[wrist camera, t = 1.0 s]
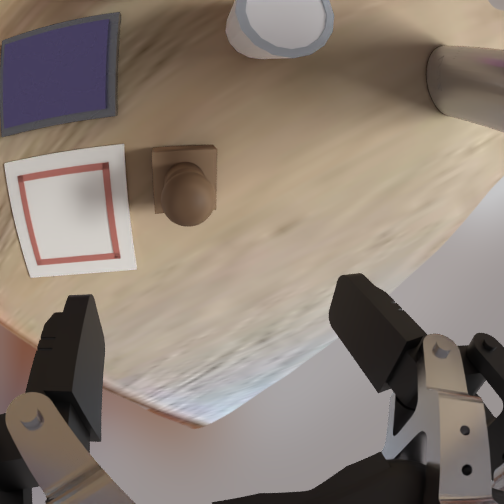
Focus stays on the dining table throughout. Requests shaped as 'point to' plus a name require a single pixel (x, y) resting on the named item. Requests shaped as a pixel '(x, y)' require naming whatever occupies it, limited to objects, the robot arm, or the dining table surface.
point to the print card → (72, 211)
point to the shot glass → (279, 27)
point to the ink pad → (60, 74)
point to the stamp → (185, 182)
